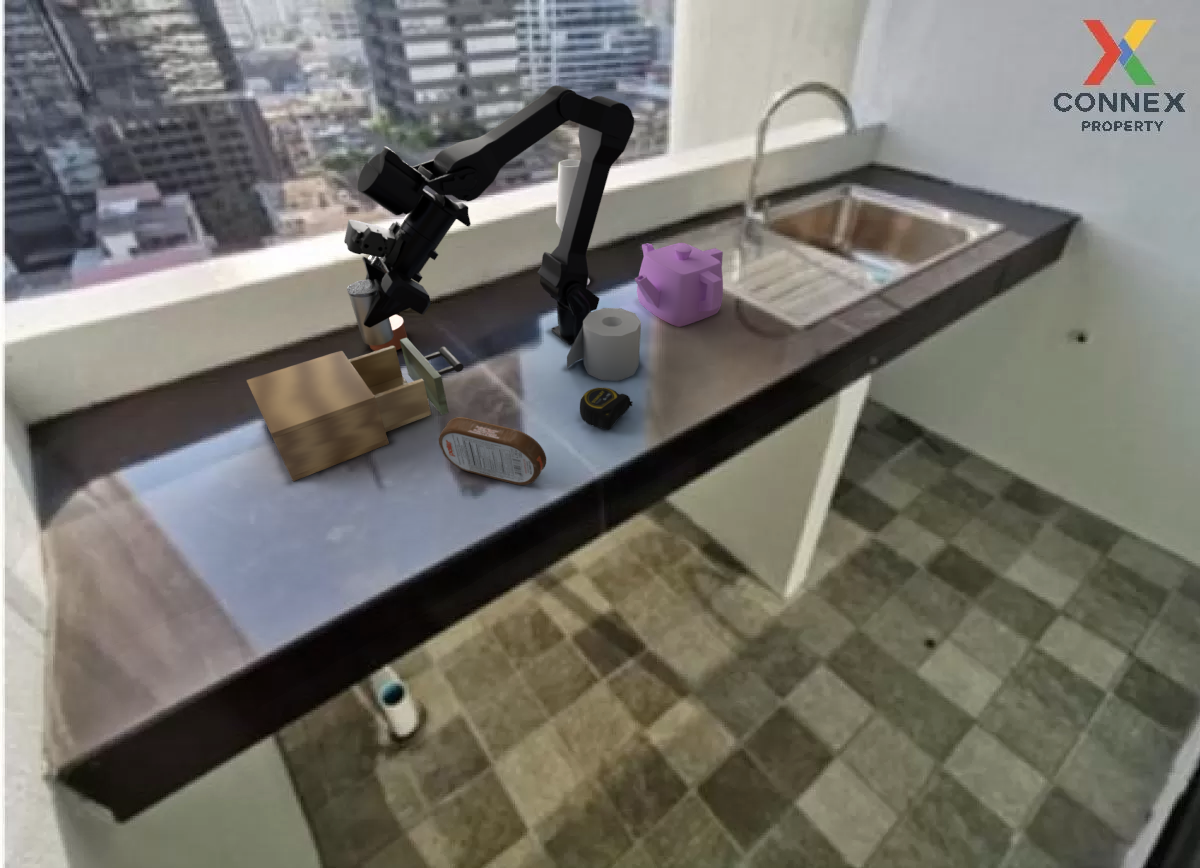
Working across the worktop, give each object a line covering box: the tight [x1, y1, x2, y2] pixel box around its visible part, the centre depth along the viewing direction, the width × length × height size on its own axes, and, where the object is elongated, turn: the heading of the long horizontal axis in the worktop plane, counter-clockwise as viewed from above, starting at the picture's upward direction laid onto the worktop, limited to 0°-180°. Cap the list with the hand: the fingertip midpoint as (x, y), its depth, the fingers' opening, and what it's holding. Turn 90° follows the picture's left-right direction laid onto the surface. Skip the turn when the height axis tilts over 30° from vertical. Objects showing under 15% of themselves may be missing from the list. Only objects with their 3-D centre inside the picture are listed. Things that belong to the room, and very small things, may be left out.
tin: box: [438, 416, 547, 486], centre depth 81 cm, size 15×3×8 cm, turn 71°
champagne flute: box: [555, 158, 591, 286], centre depth 121 cm, size 7×7×24 cm
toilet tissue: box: [566, 307, 642, 382], centre depth 101 cm, size 9×13×9 cm
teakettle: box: [634, 242, 724, 328], centre depth 117 cm, size 17×17×12 cm
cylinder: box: [346, 279, 394, 346], centre depth 90 cm, size 5×5×8 cm
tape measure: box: [579, 387, 634, 430], centre depth 92 cm, size 7×7×4 cm
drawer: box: [348, 338, 464, 433], centre depth 93 cm, size 17×13×7 cm
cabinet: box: [246, 350, 390, 482], centre depth 87 cm, size 14×15×9 cm
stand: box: [368, 314, 409, 352], centre depth 109 cm, size 7×7×4 cm
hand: (362, 318), depth 90 cm, fingers closed on cylinder, 4 cm apart
